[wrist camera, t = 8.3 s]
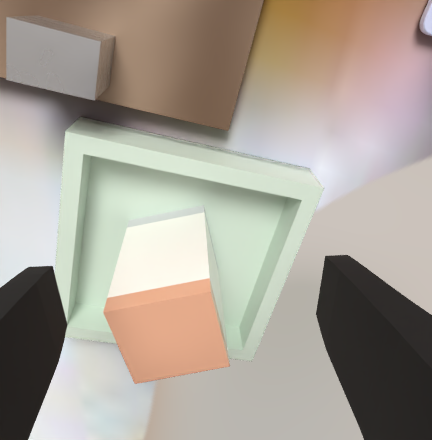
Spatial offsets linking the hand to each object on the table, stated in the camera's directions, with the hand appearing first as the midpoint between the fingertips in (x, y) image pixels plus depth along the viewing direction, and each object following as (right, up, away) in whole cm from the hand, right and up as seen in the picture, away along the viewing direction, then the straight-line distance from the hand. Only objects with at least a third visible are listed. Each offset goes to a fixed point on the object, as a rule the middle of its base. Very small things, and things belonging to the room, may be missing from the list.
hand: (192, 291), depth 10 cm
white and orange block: (-2, +1, +11) cm, 11 cm away
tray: (-2, +1, +11) cm, 11 cm away
